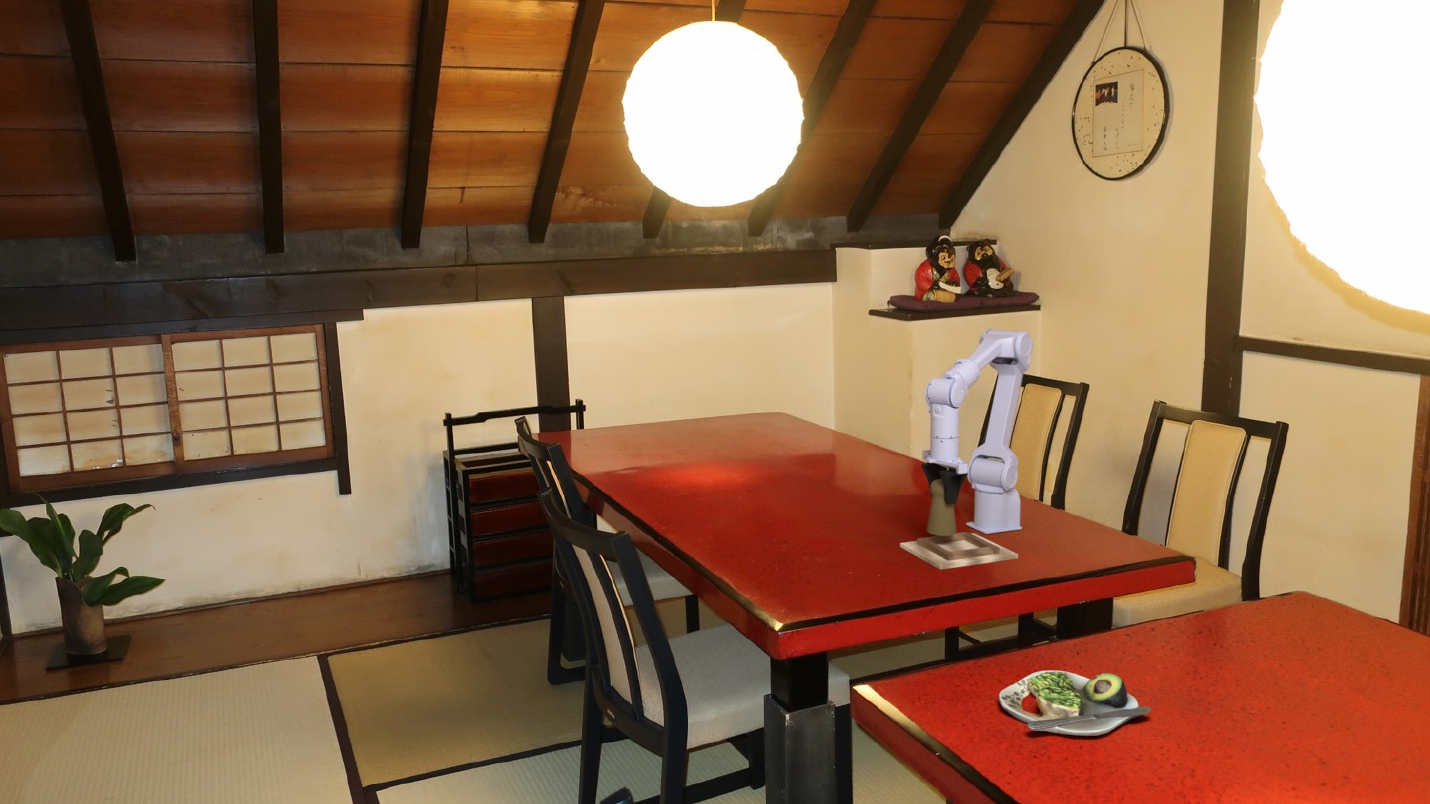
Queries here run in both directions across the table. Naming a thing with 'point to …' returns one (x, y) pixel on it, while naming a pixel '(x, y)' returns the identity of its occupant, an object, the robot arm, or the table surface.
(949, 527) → the olive tapered peg
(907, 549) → the socket board
